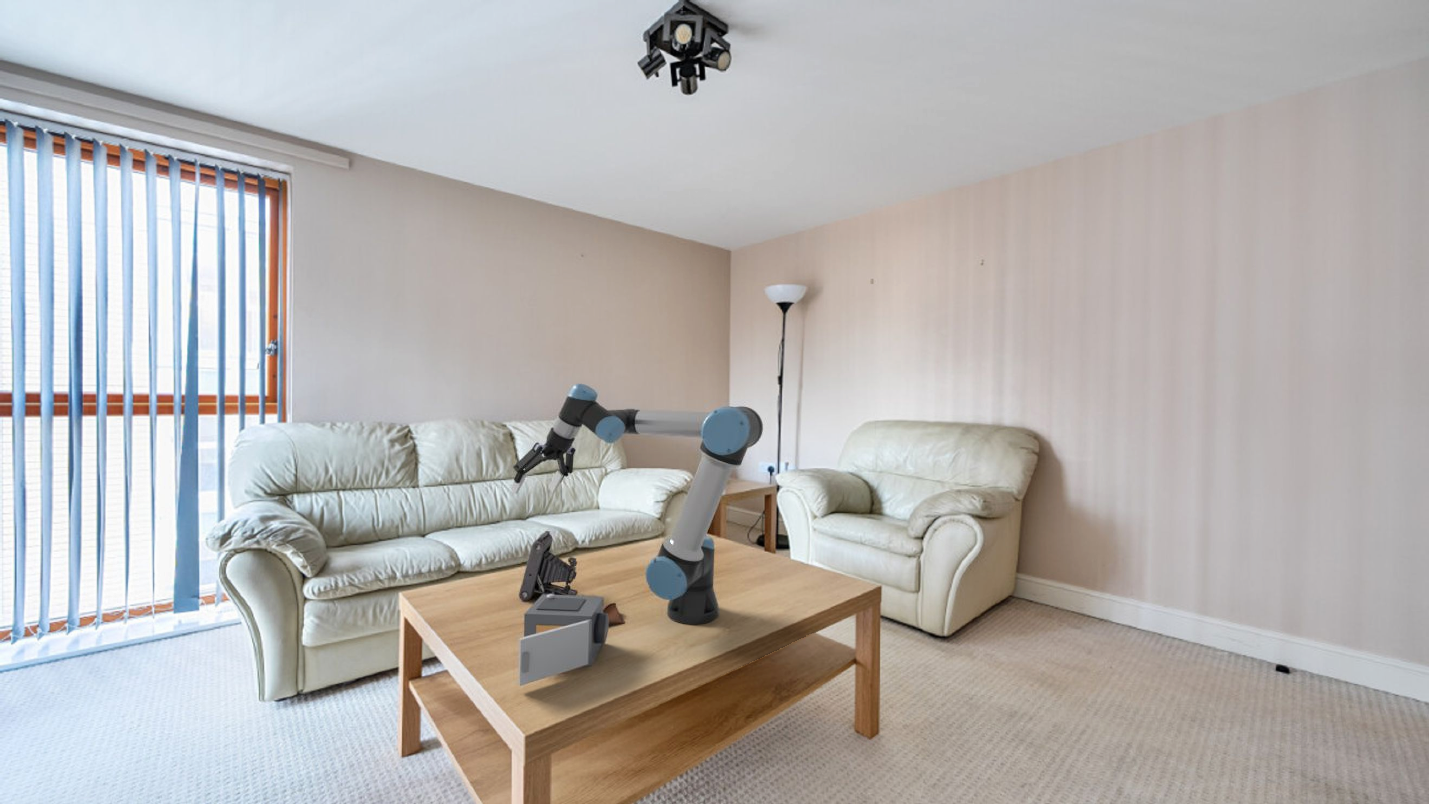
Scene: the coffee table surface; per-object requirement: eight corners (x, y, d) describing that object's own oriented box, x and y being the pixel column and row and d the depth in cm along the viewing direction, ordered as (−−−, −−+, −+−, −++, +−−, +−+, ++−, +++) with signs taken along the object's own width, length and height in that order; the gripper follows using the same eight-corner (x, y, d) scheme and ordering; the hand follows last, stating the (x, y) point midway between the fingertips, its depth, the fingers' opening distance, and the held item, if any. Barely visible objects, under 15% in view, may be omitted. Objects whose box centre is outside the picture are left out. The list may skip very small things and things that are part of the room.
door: (589, 661, 125) (590, 619, 125) (593, 664, 123) (594, 621, 123) (518, 683, 114) (519, 637, 114) (521, 687, 113) (522, 641, 113)
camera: (566, 614, 162) (584, 551, 162) (513, 598, 162) (532, 536, 162) (576, 600, 173) (593, 542, 173) (527, 585, 173) (544, 527, 173)
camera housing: (610, 642, 137) (611, 593, 137) (598, 667, 125) (599, 613, 125) (541, 640, 138) (542, 591, 137) (523, 664, 125) (524, 610, 125)
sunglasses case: (564, 637, 139) (560, 611, 142) (557, 641, 144) (553, 616, 147) (627, 622, 149) (623, 598, 152) (618, 626, 154) (614, 603, 157)
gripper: (588, 428, 169) (559, 482, 173) (521, 421, 148) (490, 483, 153) (601, 441, 165) (571, 496, 170) (535, 436, 145) (503, 499, 149)
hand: (533, 490), depth 161 cm, fingers open, 13 cm apart
